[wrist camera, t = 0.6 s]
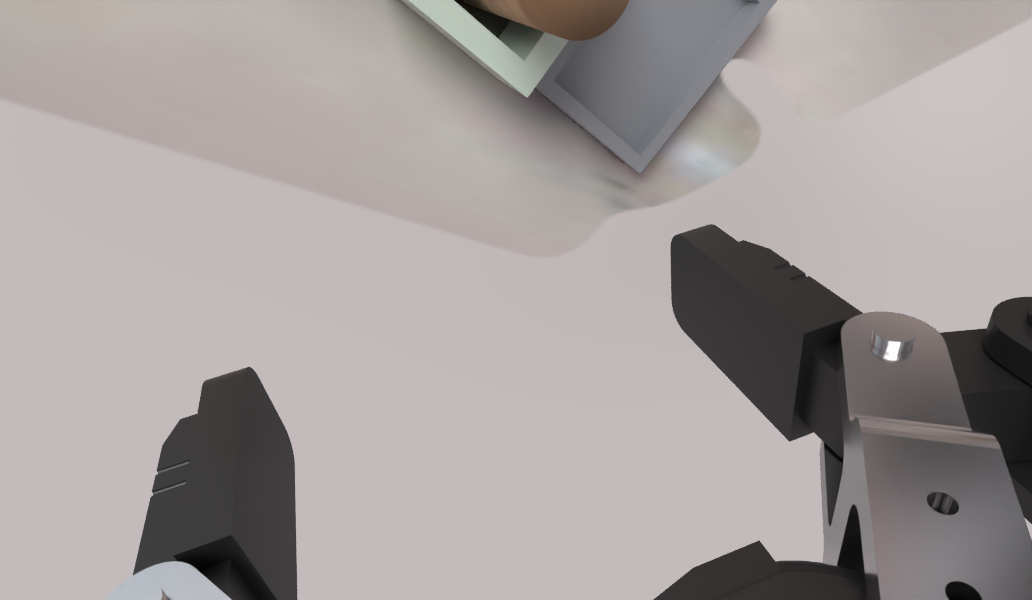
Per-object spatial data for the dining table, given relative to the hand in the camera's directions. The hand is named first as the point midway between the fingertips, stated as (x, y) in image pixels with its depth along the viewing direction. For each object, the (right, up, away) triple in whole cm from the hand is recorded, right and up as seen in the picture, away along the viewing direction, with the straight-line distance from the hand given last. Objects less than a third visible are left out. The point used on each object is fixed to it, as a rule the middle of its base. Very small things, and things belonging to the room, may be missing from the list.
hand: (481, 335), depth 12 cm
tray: (+8, +16, +24) cm, 30 cm away
